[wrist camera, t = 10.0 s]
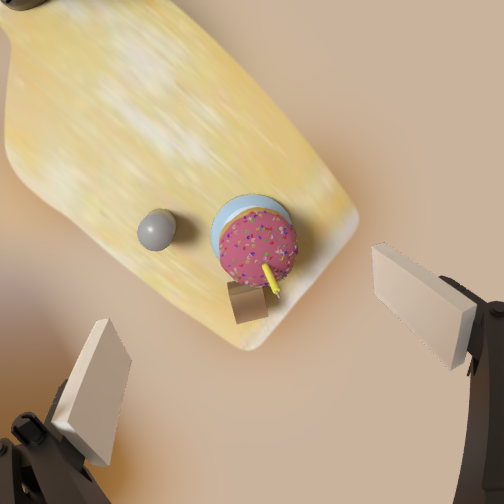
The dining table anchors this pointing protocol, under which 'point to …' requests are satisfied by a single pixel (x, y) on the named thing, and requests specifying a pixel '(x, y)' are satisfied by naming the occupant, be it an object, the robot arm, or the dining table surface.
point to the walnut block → (247, 302)
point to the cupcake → (258, 248)
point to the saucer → (237, 207)
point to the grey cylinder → (157, 230)
